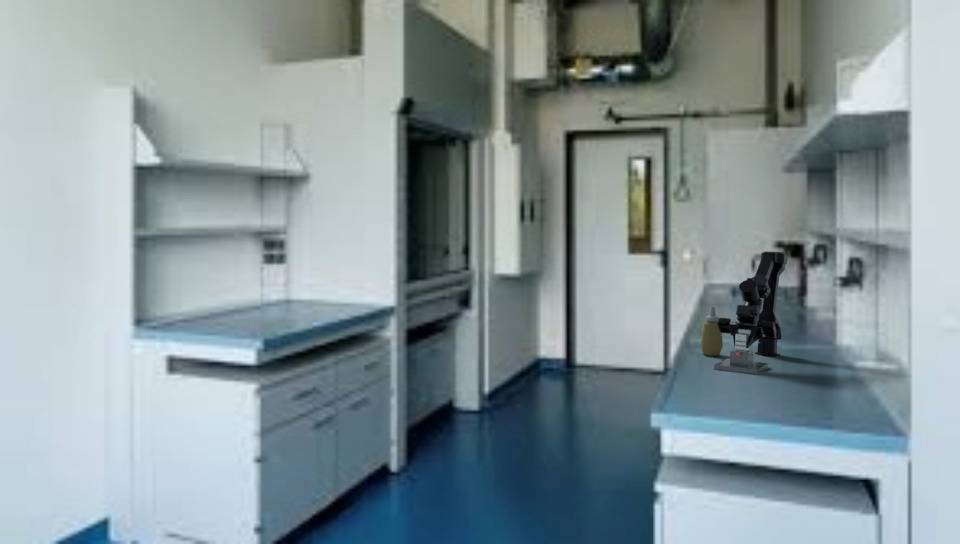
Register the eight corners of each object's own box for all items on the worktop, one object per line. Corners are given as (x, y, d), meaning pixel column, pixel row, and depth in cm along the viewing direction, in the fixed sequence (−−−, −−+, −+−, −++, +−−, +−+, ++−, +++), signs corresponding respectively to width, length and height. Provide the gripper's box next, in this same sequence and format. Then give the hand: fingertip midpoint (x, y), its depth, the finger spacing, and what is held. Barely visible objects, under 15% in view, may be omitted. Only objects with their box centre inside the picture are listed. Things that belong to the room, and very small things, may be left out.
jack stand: (726, 362, 265) (727, 346, 264) (768, 367, 257) (768, 350, 256) (714, 369, 253) (714, 351, 253) (756, 374, 245) (757, 356, 245)
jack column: (737, 362, 257) (738, 332, 257) (748, 363, 255) (749, 333, 255) (734, 363, 254) (735, 334, 254) (745, 364, 252) (746, 335, 252)
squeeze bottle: (725, 357, 276) (726, 308, 275) (703, 356, 276) (704, 308, 275) (718, 353, 284) (720, 305, 283) (697, 352, 284) (698, 305, 283)
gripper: (719, 294, 262) (708, 329, 254) (775, 298, 251) (765, 334, 243) (725, 314, 269) (715, 349, 261) (780, 318, 258) (771, 355, 250)
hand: (740, 346), depth 253 cm, fingers closed on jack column, 4 cm apart
